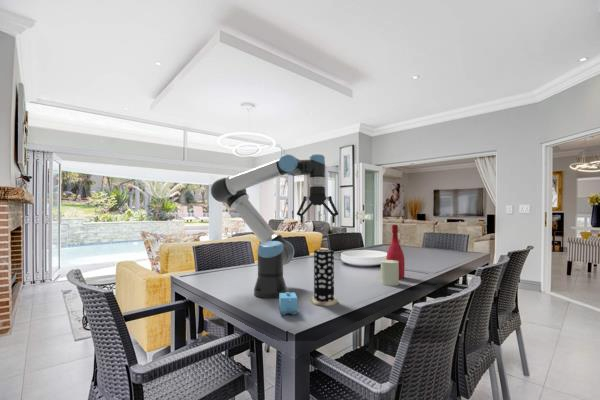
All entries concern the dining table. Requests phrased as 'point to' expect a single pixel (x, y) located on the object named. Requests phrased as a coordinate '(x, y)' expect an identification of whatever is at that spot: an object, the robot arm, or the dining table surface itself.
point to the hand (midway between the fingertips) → (317, 229)
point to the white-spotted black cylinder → (324, 275)
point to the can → (389, 272)
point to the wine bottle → (396, 251)
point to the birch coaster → (324, 302)
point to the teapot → (288, 303)
